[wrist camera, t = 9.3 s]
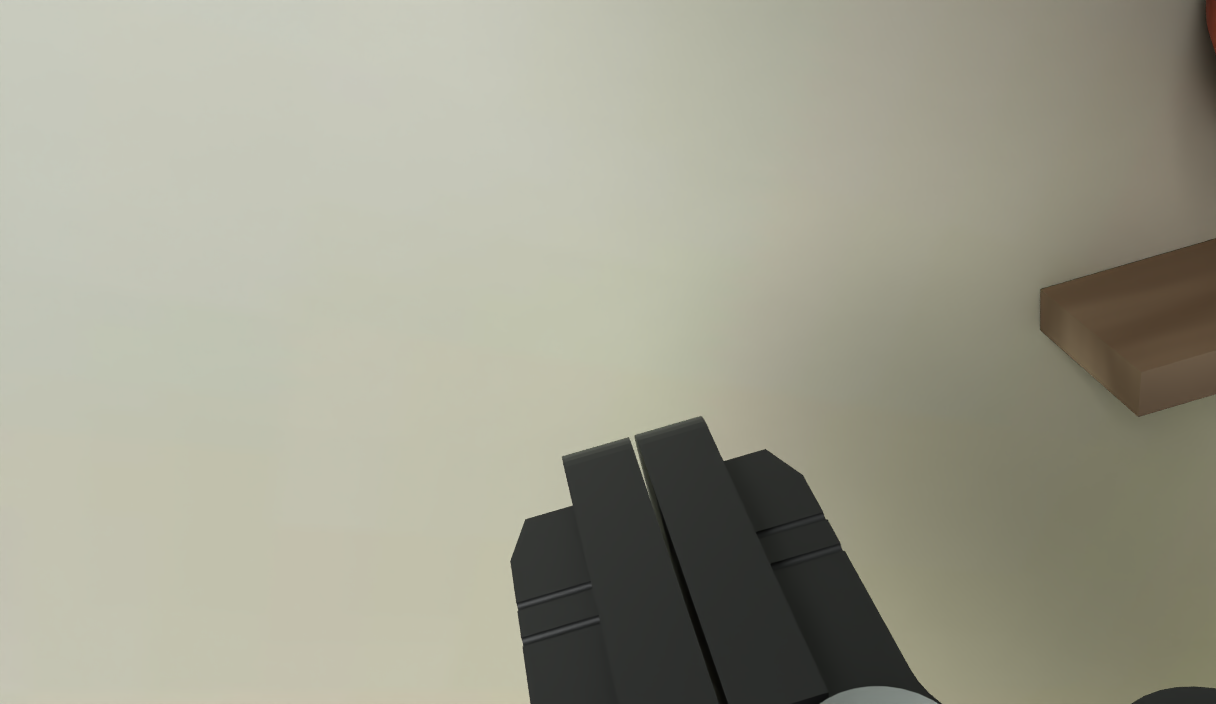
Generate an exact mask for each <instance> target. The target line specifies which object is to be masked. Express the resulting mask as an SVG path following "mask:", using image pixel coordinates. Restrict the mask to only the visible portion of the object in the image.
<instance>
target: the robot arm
mask: <svg viewBox="0 0 1216 704" xmlns="http://www.w3.org/2000/svg"><path fill="white" fill-rule="evenodd" d="M635 441H636V446H637V450H638V454H639V458H640V462H641V466H642V469H643V473H644V477H645V481H646V485H647V489H648V492H647V489H646V486H645V483H644V480H643V477H642V474H641V471H640V468H639V465H638V462H637V459H636V456H635V453H634V450H633V447H632V444H631V441H630V439H629V437H628V438H624V439H621V440H617V441H614V442H611V443H607V444H604V445H600V446H597V447H593V448H590V449H586V450H583V451H579V452H576V453H572V454H569V455H566V456H562V460H563V465H564V469H565V473H566V478H567V482H568V486H569V491H570V495H571V499H572V503H573V506H570V507H566V508H563V509H559V510H556V511H553V512H549V513H546V514H542V515H539V516H535V517H532V518H529V519H525V522H524V525H523V527H522V530H521V533H520V536H519V539H518V541H517V544H516V547H515V550H514V552H513V555H512V558H511V561H510V562H511V569H512V576H513V583H514V590H515V597H516V603H517V607H518V618H519V625H520V632H521V638H522V642H523V653H524V660H525V668H526V675H527V682H528V689H529V696H530V703H531V704H942V703H940V702H939V701H938V700H937V699H935V698H934V697H933V696H932V695H931V694H929V693H928V691H927V690H926V689H925V688H924V687H923V686H922V685H921V684H920V683H919V682H918V680H917V679H916V677H915V676H914V674H913V673H912V671H911V670H910V668H909V666H908V664H907V662H906V661H905V659H904V657H903V655H902V653H901V652H900V650H899V648H898V646H897V644H896V643H895V641H894V639H893V637H892V635H891V634H890V632H889V630H888V628H887V626H886V625H885V623H884V621H883V619H882V617H881V616H880V614H879V612H878V610H877V608H876V607H875V605H874V603H873V601H872V599H871V597H870V596H869V594H868V592H867V590H866V588H865V587H864V585H863V583H862V581H861V579H860V578H859V576H858V574H857V572H856V570H855V569H854V567H853V565H852V563H851V561H850V560H849V558H848V556H847V554H846V552H845V551H843V550H842V548H841V544H840V541H839V540H838V538H837V536H836V534H835V532H834V531H833V529H832V527H831V525H830V523H829V522H828V520H826V519H825V517H824V514H823V511H822V509H821V507H820V505H819V504H818V502H817V500H816V498H815V496H814V495H813V493H812V491H811V489H810V487H809V486H808V484H807V482H806V480H805V478H804V476H803V475H802V474H800V473H799V472H798V471H796V470H795V469H793V468H792V467H790V466H789V465H788V464H786V463H785V462H783V461H782V460H780V459H779V458H778V457H776V456H775V455H773V454H772V453H770V452H769V451H767V450H766V449H764V450H761V451H757V452H754V453H751V454H747V455H744V456H740V457H737V458H733V459H730V460H727V461H723V459H722V457H721V455H720V453H719V451H718V448H717V446H716V444H715V442H714V440H713V437H712V435H711V433H710V431H709V429H708V426H707V424H706V422H705V420H704V419H703V417H702V416H699V417H696V418H692V419H689V420H686V421H682V422H679V423H675V424H672V425H668V426H665V427H661V428H658V429H654V430H651V431H647V432H644V433H641V434H637V435H635ZM648 493H649V495H648ZM649 497H650V498H649ZM650 500H651V501H650ZM1132 704H1216V689H1215V688H1205V687H1175V688H1170V689H1164V690H1159V691H1157V692H1154V693H1151V694H1148V695H1146V696H1143V697H1142V698H1140V699H1138V700H1137V701H1135V702H1133V703H1132Z"/></svg>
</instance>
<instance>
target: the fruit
mask: <svg viewBox="0 0 1216 704" xmlns="http://www.w3.org/2000/svg"><path fill="white" fill-rule="evenodd" d="M1206 22H1207V27H1208V31H1209V35H1210V38H1211V41H1212V44H1213V47H1214V50H1215V54H1216V0H1206Z"/></svg>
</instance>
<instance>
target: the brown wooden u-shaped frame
mask: <svg viewBox="0 0 1216 704" xmlns="http://www.w3.org/2000/svg"><path fill="white" fill-rule="evenodd" d="M1040 330H1041V331H1042V332H1043V333H1044V334H1045V335H1047V336H1048V337H1049V338H1050V339H1051V340H1052V341H1053V342H1054V343H1056V344H1057V345H1058V346H1059V347H1060V348H1061V349H1062V350H1063V351H1065V352H1066V353H1067V354H1068V355H1069V356H1070V357H1071V358H1072V359H1074V360H1075V361H1076V362H1077V363H1078V364H1079V365H1080V366H1081V367H1083V368H1084V369H1085V370H1086V371H1087V372H1088V373H1089V374H1091V375H1092V376H1093V377H1094V378H1095V379H1096V380H1097V381H1098V382H1100V383H1101V384H1102V385H1103V386H1104V387H1105V388H1106V389H1107V390H1109V391H1110V392H1111V393H1112V394H1113V395H1114V396H1115V397H1116V398H1118V399H1119V400H1120V401H1121V402H1122V403H1123V404H1124V405H1126V406H1127V407H1128V408H1129V409H1130V410H1131V411H1132V412H1133V413H1135V414H1136V415H1137V416H1138V417H1140V416H1143V415H1146V414H1150V413H1153V412H1157V411H1160V410H1163V409H1167V408H1170V407H1174V406H1177V405H1180V404H1184V403H1187V402H1191V401H1194V400H1197V399H1201V398H1204V397H1207V396H1211V395H1214V394H1216V239H1213V240H1209V241H1206V242H1202V243H1199V244H1195V245H1192V246H1189V247H1185V248H1182V249H1178V250H1175V251H1171V252H1168V253H1164V254H1161V255H1157V256H1154V257H1151V258H1147V259H1144V260H1140V261H1137V262H1133V263H1130V264H1126V265H1123V266H1119V267H1116V268H1112V269H1109V270H1106V271H1102V272H1099V273H1095V274H1092V275H1088V276H1085V277H1081V278H1078V279H1074V280H1071V281H1068V282H1064V283H1061V284H1057V285H1054V286H1050V287H1047V288H1043V289H1041V292H1040Z"/></svg>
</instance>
